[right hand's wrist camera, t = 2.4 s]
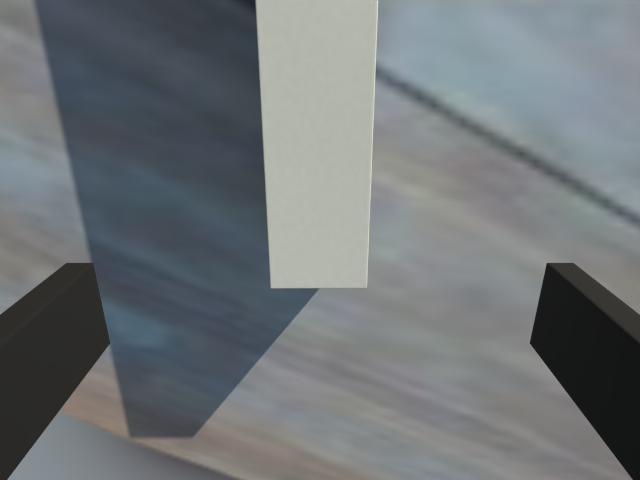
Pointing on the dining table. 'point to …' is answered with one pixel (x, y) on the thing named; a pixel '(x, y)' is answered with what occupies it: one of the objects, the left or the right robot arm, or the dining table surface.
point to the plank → (317, 138)
